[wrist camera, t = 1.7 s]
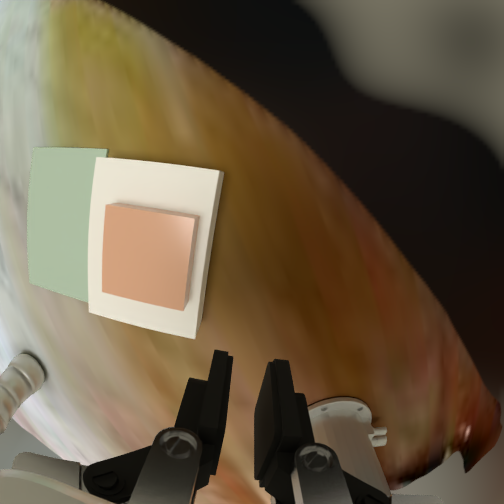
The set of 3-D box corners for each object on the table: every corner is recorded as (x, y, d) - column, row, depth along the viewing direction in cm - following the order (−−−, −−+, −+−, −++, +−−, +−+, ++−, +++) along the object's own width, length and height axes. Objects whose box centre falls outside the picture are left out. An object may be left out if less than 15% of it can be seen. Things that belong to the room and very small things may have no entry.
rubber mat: (108, 149, 26) (107, 149, 26) (98, 303, 30) (96, 305, 30) (35, 147, 26) (33, 147, 25) (31, 282, 30) (29, 283, 29)
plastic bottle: (17, 344, 33) (-53, 408, 13) (44, 356, 33) (-28, 432, 13) (26, 373, 34) (-33, 439, 15) (53, 386, 34) (-6, 462, 15)
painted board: (224, 172, 27) (219, 170, 23) (201, 320, 31) (194, 339, 27) (114, 159, 26) (96, 157, 22) (105, 298, 30) (89, 312, 26)
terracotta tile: (199, 215, 24) (194, 218, 22) (188, 301, 26) (183, 311, 24) (116, 202, 24) (105, 204, 21) (112, 284, 25) (101, 291, 23)
